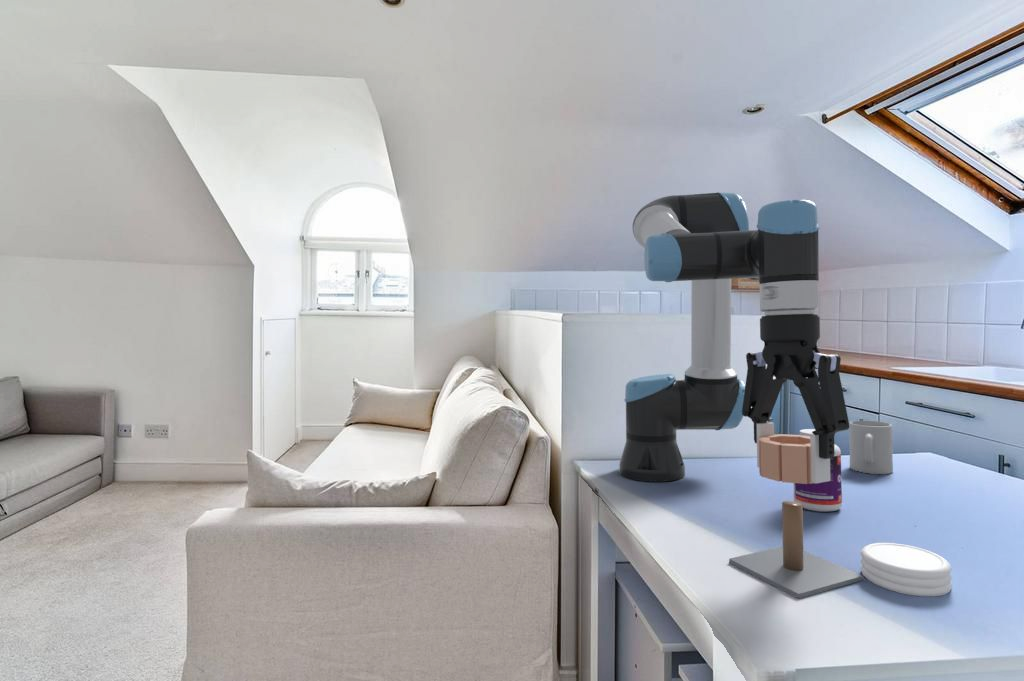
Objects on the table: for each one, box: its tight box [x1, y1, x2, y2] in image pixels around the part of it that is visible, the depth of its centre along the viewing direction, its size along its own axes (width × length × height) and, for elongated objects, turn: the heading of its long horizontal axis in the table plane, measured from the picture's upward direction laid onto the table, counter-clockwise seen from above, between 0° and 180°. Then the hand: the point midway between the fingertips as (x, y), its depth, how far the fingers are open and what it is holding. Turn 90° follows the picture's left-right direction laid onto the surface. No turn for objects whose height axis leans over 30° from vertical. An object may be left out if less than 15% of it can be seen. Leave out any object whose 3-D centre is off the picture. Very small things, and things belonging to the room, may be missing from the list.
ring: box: [758, 433, 813, 484], centre depth 78 cm, size 8×8×5 cm
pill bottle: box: [793, 428, 843, 513], centre depth 105 cm, size 8×8×14 cm
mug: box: [848, 420, 894, 475], centre depth 128 cm, size 12×8×11 cm
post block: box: [728, 500, 864, 599], centre depth 78 cm, size 12×12×10 cm
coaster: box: [860, 542, 953, 598], centre depth 75 cm, size 10×10×4 cm
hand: (791, 473), depth 78 cm, fingers closed on ring, 8 cm apart
